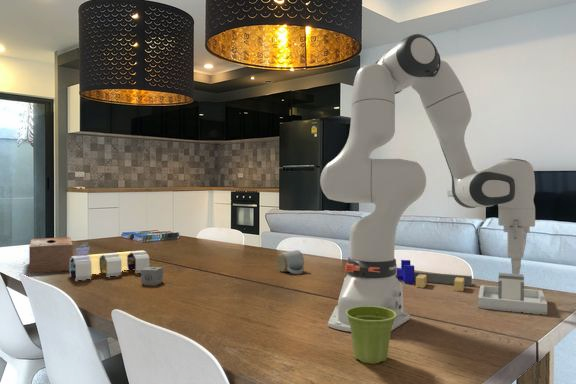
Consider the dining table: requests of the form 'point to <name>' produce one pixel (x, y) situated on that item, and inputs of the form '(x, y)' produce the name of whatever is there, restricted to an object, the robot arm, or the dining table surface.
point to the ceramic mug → (291, 262)
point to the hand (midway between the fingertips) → (516, 271)
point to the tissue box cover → (50, 254)
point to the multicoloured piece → (106, 263)
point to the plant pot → (370, 332)
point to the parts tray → (512, 301)
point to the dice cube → (152, 275)
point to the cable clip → (406, 272)
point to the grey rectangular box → (511, 286)
